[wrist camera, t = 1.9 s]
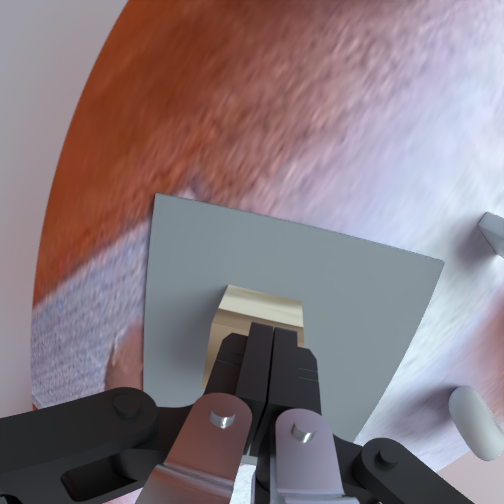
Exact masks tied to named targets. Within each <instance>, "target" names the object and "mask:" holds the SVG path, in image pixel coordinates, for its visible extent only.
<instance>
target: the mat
mask: <svg viewBox="0 0 504 504" xmlns="http://www.w3.org/2000/svg"><path fill="white" fill-rule="evenodd" d="M444 263H445V262H443V261H442V260H439V259H435V258H432V257H428V256H424V255H421V254H417V253H414V252H410V251H406V250H403V249H399V248H395V247H391V246H388V245H384V244H380V243H376V242H372V241H369V240H365V239H361V238H357V237H353V236H349V235H345V234H341V233H337V232H333V231H329V230H325V229H321V228H317V227H312V226H308V225H304V224H300V223H296V222H291V221H287V220H283V219H279V218H274V217H270V216H265V215H261V214H257V213H252V212H248V211H243V210H239V209H234V208H229V207H225V206H220V205H215V204H211V203H206V202H201V201H196V200H191V199H186V198H182V197H177V196H172V195H167V194H161V193H156V194H155V202H154V210H153V218H152V227H151V237H150V247H149V258H148V270H147V283H146V299H145V319H144V353H143V392H145V393H147V394H148V395H149V396H150V397H151V398H152V399H153V400H154V401H155V403H156V405H157V407H184V406H188V405H191V404H193V403H195V401H196V400H197V399H198V398H200V397H201V396H202V395H203V393H204V391H205V389H202V388H201V386H202V380H203V374H204V368H205V361H206V355H207V349H208V343H209V337H210V331H211V325H212V321H213V319H214V317H215V314H216V312H217V310H218V308H219V305H220V303H221V301H222V298H223V296H224V294H225V292H226V289H227V287H228V285H232V286H237V287H241V288H245V289H249V290H254V291H258V292H262V293H267V294H271V295H275V296H280V297H284V298H289V299H293V300H298V301H302V312H303V329H304V345H303V348H307V349H310V350H311V352H312V353H313V355H314V356H315V358H316V359H317V367H318V372H317V373H318V378H319V380H318V382H319V389H320V400H321V412H322V417H323V418H324V419H325V420H327V422H328V423H329V425H330V427H331V429H332V433H333V434H334V435H335V436H337V437H339V438H341V439H343V440H345V441H348V442H351V443H353V441H354V440H355V438H356V437H357V435H358V434H359V432H360V431H361V429H362V428H363V426H364V425H365V423H366V421H367V420H368V418H369V417H370V415H371V414H372V412H373V410H374V409H375V407H376V405H377V404H378V402H379V400H380V399H381V397H382V395H383V394H384V392H385V390H386V388H387V387H388V385H389V383H390V381H391V380H392V378H393V376H394V374H395V372H396V370H397V368H398V367H399V365H400V363H401V361H402V359H403V357H404V355H405V353H406V351H407V349H408V347H409V345H410V343H411V341H412V339H413V337H414V335H415V333H416V331H417V328H418V326H419V324H420V322H421V320H422V317H423V315H424V313H425V311H426V308H427V306H428V304H429V301H430V299H431V297H432V294H433V292H434V289H435V287H436V284H437V282H438V279H439V276H440V274H441V271H442V268H443V266H444ZM249 451H250V447H249V450H248V452H247V455H243V456H242V459H241V462H240V463H245V464H250V465H255V466H257V458H258V457H253V456H249Z"/></svg>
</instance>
